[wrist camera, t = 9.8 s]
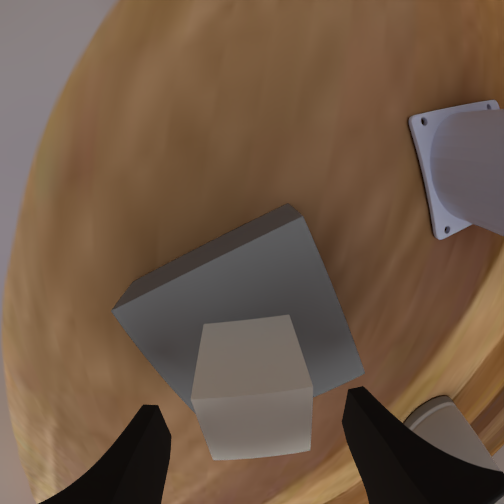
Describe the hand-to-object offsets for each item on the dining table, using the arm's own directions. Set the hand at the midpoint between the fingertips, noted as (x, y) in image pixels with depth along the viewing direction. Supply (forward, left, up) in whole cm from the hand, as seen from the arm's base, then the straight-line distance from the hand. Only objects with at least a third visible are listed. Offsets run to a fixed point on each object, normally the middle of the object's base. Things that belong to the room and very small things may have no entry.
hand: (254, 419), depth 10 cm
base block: (0, 0, -9) cm, 9 cm away
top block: (0, 0, -4) cm, 4 cm away
